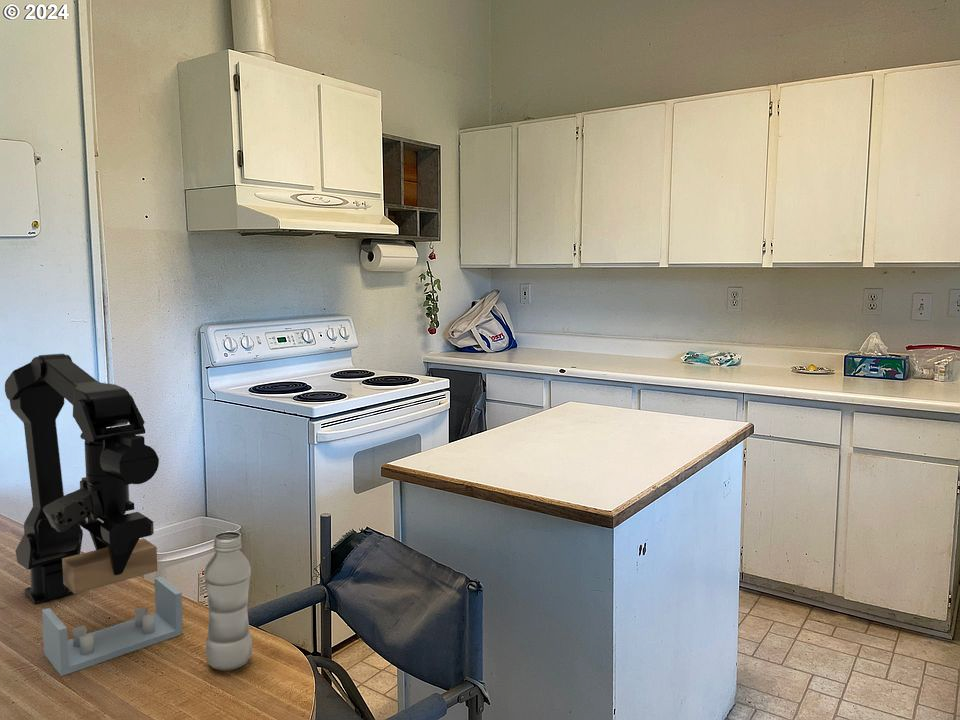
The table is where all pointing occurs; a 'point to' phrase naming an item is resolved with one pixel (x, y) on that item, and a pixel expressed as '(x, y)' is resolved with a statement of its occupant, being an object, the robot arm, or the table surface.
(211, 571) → the plastic bottle
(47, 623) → the peg rack
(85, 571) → the shelf block
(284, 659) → the table surface
